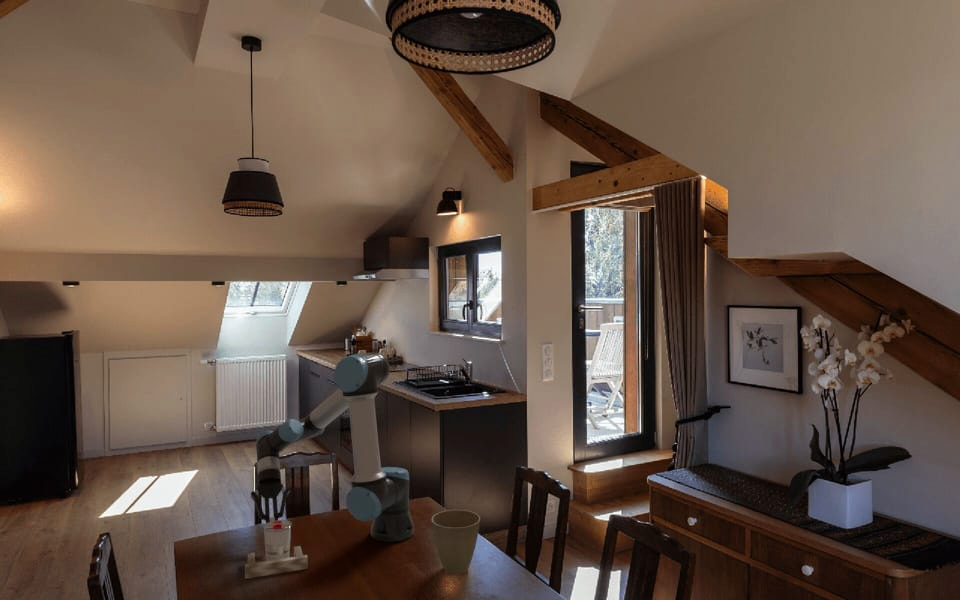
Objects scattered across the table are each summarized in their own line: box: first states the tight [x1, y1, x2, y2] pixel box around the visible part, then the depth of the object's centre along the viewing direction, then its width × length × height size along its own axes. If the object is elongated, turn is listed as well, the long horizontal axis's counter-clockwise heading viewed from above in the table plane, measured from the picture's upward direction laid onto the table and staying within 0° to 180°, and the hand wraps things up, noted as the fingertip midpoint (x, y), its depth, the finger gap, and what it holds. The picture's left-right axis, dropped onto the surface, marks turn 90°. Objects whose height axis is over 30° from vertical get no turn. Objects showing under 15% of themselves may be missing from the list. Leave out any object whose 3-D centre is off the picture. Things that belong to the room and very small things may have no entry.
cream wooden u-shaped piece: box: [244, 545, 309, 580], centre depth 192 cm, size 18×11×4 cm, turn 112°
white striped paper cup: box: [262, 519, 294, 561], centre depth 194 cm, size 10×8×12 cm
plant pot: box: [431, 509, 481, 575], centre depth 189 cm, size 15×15×16 cm
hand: (272, 537), depth 201 cm, fingers closed
